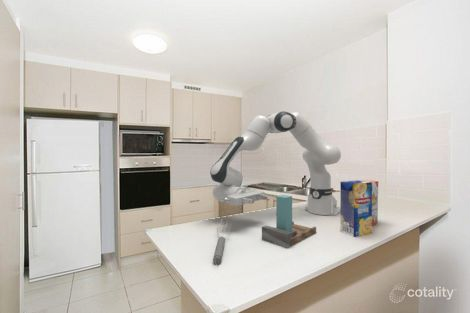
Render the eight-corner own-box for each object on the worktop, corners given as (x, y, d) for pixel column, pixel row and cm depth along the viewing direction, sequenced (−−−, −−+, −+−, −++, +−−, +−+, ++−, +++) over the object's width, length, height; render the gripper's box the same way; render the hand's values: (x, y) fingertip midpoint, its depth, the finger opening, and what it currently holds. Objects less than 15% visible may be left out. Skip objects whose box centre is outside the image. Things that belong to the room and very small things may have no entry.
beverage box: (372, 233, 96) (372, 182, 96) (354, 237, 92) (354, 183, 92) (357, 228, 103) (357, 180, 102) (340, 231, 98) (340, 181, 98)
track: (291, 226, 106) (291, 215, 106) (316, 232, 97) (316, 221, 97) (261, 239, 90) (261, 227, 90) (287, 248, 81) (287, 234, 81)
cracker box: (367, 229, 101) (367, 183, 101) (353, 226, 106) (353, 181, 105) (378, 223, 110) (378, 180, 110) (365, 220, 114) (365, 179, 114)
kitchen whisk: (206, 268, 68) (206, 247, 68) (218, 231, 101) (218, 217, 101) (226, 269, 67) (226, 248, 67) (232, 231, 101) (232, 217, 101)
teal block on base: (281, 230, 95) (281, 194, 95) (296, 234, 90) (296, 196, 90) (272, 234, 91) (271, 196, 90) (287, 239, 86) (286, 198, 85)
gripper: (221, 192, 102) (243, 196, 92) (251, 186, 117) (273, 189, 107) (222, 206, 102) (244, 211, 93) (251, 199, 117) (273, 202, 107)
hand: (259, 199), depth 100 cm, fingers open, 8 cm apart
